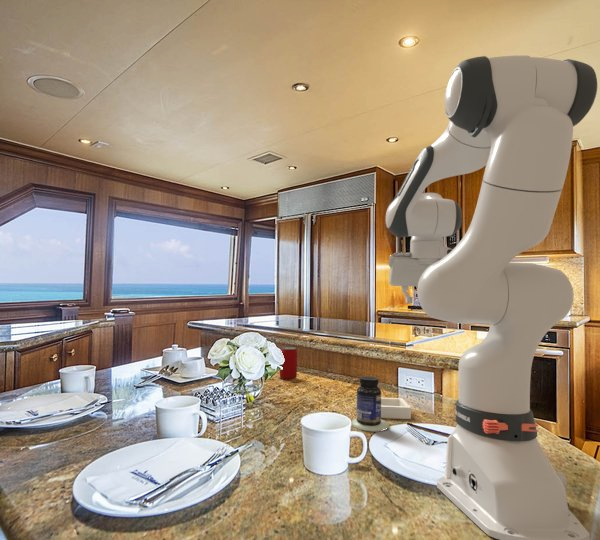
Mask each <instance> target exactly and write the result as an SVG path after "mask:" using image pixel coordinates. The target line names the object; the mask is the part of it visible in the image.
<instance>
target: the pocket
mask: <svg viewBox="0 0 600 540" xmlns="http://www.w3.org/2000/svg"><path fill="white" fill-rule="evenodd" d="M381 419H399V420H400V419H402V420H412V407H411V406H410V405H409V404H408V403H407V401H406V400H405V399H404V398H402V397H382V396H381Z"/></svg>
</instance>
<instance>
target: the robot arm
mask: <svg viewBox="0 0 600 540" xmlns="http://www.w3.org/2000/svg"><path fill="white" fill-rule="evenodd" d="M597 92H598V79H597V74H596V71H595V70H594V68H593V67H592V66H591V65H590V64H587V63H585V62H582V61H578V60H574V59H571V58H570V59H564V60H561V59H555V58H547V57H536V56H530V55H503V56H492V57H488V56H486V55H483V56H475V57H472V58H471V57H470V58H467V59H464V60H462V61H461V62H459V64H458V65H457V66H456V67H455V68H454V69H453V70H452V72H451V75H450V77H449V80H448V83H447V85H446V88H445V92H444V110H445V114H446V117H447V118H448V119H449V121H448V124H447V126H446V128H445V130H444V131H443V132H442V134H441V135H440V136H438V138H437V139H436V140H435V141H434V142H432V143H431V144H430V145H429V146H428V145H427V146H426V147H425V148H423V149H422V150H421V151H420V152H419V154H418V156H417V157H416V159H415V160H414V162H413V164H412V166H411V168H410V169H409V171H408V173H407V176H406V177H405V178H404V180H403V182H402V185H401V186H400V188H399V190H398V192H397V193H396V195H395V196H394V198H393V199H392V200H391V201H390V203H389V204H388V206H387V209H386V213H385V227H386V229H387V230H388V231H389V233H391V234H392V235H394V237H395V238H409V237H411V238H410V241H409V242H410V243H409V245H410V247H409V252H394V253H392V254H391V255H389V257H388V267H389V274H388V283H389V284H390V286H392V287H401V292H402V294H403V295H404V297H405V303H406V304H413V296H410V294H409V293H408V291H409V290H410V289H409V287H417V290H416V291H417V293H416V295H417V299H418V303H419V305H420V307H421V309H422V310H423V312H424V313H425V314H426V315H427V317H429V318H432V319H436V320H438V321H439V320H440V321H444V322H449V323H453V324H464V325H465V324H468V325H469V324H470V325H472V324H473V325H489V328H488V329H489V330H488V332H487V335H486V336H485V338H484V339H483V340H482V341H481V342H480V343H478V344H476V345H474V346H471V347H469V348H468V349H467V350H466V351H464V352H463V354H462V355H461V356H460V359H458V360H459V361H458V371H457V373H458V382H457V383H458V384H457V385H458V399H457V400H456V401H455V408H454V414H455V423H456V427H455V428H454V430H453V431H452V433H451V434H449V436H448V437H447V444H446V455H445V469H444V474H445V475H444V476H442V477H439V478H437V480H436V481H437V482H436V488H437V489H438V490H439V491H440V492H441V493H443V494H444V495H445V496H446V497H447V498H448V499H449V500H450V501H451V502H452V504H454V505H455V506H456V507H457V508H458V509H460V511H462V512H463V514H465V515H466V516H467V517H468V518H469V519H470V520H471V521H472V522H473V523H474V524H475V525H476V526H477V527H478V528H479V529H481V530H482V531H483V532H484V533H485V534H486V535H487V536H489V537H491V538H494V539H496V540H591V535H590V532H589V531H588V530H587V529H586V528H585V526H584V524H582V523H581V522H580V520H579V519H578V518H577V517H576V516H575V515H574V513H572V511H571V510H570V509H569V506H568V505H569V504H568V496H567V491H566V489H567V485H568V483H567V478H566V475H565V474H564V472H562V471H556V470H555V468H554V466H553V465H552V463H551V462H550V461H551V460H550V458H549V456H548V454H546V453H545V452H544V450H543V448H542V446H541V444H540V443H539V441H538V432H539V430H538V429H537V427H539V424H538V423H537V422H536V419H535V418H534V414H533V410H531V399H530V397H531V396H530V395H531V377H532V376H531V375H532V365H533V361H534V357H535V354H536V352H537V349H538V347H539V346H540V343H541V342H542V340H543V338H544V336H546V335H547V333H548V332H549V330H551V328H553V327H554V326H555V325H556V324H558V323H559V322H561V321H562V320H563V319H564V318H566V317H567V315H568V314H569V312H570V311H571V310H572V306H573V303H574V299H575V298H574V297H575V296H574V288H573V285H572V282H571V280H570V279H569V277H568V276H567V275H566V274H565V273H564V272H563V271H562V270H560V269H558V268H553V267H550V266H546V265H542V264H537V263H533V262H532V263H531V262H530V263H529V262H511V261H512V260H513V259H514V258H516V257H517V256H519V255H520V254H522V253H524V252H525V251H528V250H530V249H532V248H534V247H536V246H538V245H539V244H541V243H542V242H543V241H544V240H545V238H547V236H548V235H549V233H550V231H551V227H552V224H553V221H554V217H555V213H556V210H557V207H558V204H559V201H560V198H561V195H562V192H563V188H564V185H565V181H566V179H567V173H568V170H569V165H570V159H571V153H572V147H573V133H574V127H575V126H577V125H578V124H579V123H581V121H582V120H583V119H584V118H585V117H586V116H587V114H588V113H589V112H590V110H591V109H592V107H593V105H594V103H595V99H596V97H597ZM484 167H485V168H484ZM482 168H484V172H483V177H482V180H481V185H480V190H479V194H478V197H477V198H478V199H477V203H476V207H475V210H474V213H473V216H472V218H471V219H472V220H471V222H470V224H469V226H468V229H467V231H466V232H465V233H464V235H463V236H462V238H461V240H460V241H459V242H457V243H458V244H457V245H455V247H453V248H451V247H448V246H446V245H445V241H444V237H445V238H446V237H451V236H454V235H455V234H456V233H457V232H458V231H459V230H460V229H461V228H462V223H463V211H462V208H461V206H460V204H458V202H456V200H454V199H449V198H443V197H442V195H441V194H439V193H436V192H424V191H425V190H426V189H427V187H429V185H431V184H432V183H435V182H438V181H441V180H444V179H447V178H451V177H457V176H462V175H467V174H471V173H474V172H476V171H479V170H481V169H482ZM536 423H537V424H536Z"/></svg>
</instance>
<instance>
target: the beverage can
mask: <svg viewBox="0 0 600 540" xmlns="http://www.w3.org/2000/svg"><path fill="white" fill-rule="evenodd" d="M281 351H282V353H283V355H284V358H285V362H284V364H283V365H282V367H283V370H280V369H279V378H281V379H282V378H283V379H282V380H284V379H293V380H295V379H296V378H297V377H298V376H297V375H298V374H297V373H298V351H297V348H296V347H293V346H283V347H282V349H281V350H280V352H281ZM294 378H295V379H294Z"/></svg>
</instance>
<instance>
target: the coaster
mask: <svg viewBox="0 0 600 540" xmlns="http://www.w3.org/2000/svg"><path fill="white" fill-rule="evenodd" d="M351 422H352V423H351V424H352V426H353V428H355V429H357V430H360V431H363V432H368V433H369V432H372V433H376V432H377V433H378V432H379V431H381V430H383V429H386V428H388V429H389V422H387V421H386V420H384V419H383V418H381V423H380V424H379V425H376V426H368V425H363V424H360V423H358V422H357V417H356V418H354V419H352V421H351ZM381 432H382V431H381ZM379 433H380V432H379Z"/></svg>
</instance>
